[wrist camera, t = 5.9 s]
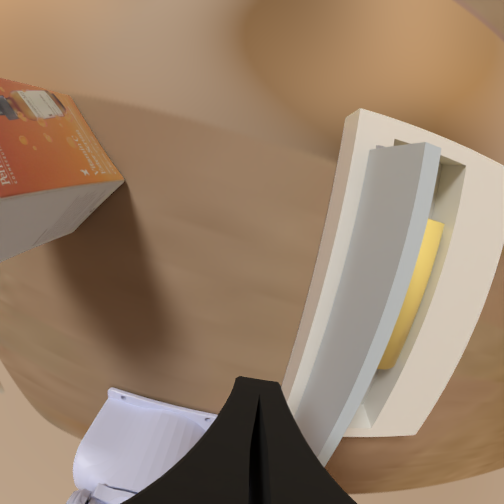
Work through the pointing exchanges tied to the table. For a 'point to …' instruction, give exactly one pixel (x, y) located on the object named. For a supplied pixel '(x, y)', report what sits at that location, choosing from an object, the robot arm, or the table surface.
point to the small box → (46, 168)
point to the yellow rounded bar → (413, 293)
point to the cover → (369, 289)
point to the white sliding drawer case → (439, 284)
